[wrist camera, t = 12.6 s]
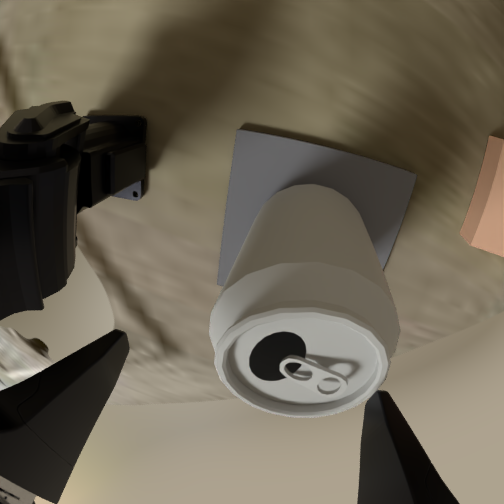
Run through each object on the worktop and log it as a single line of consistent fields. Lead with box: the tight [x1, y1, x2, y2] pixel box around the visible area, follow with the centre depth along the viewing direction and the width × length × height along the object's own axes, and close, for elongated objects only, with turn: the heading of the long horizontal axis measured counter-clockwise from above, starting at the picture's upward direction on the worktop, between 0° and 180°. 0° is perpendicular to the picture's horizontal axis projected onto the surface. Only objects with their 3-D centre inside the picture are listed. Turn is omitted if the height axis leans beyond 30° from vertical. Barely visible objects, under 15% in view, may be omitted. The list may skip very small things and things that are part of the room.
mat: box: [217, 129, 417, 286], centre depth 20 cm, size 12×12×1 cm
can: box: [209, 184, 400, 418], centre depth 14 cm, size 8×8×12 cm
